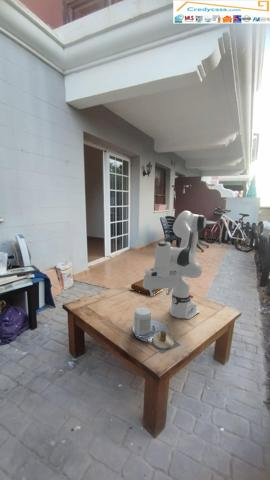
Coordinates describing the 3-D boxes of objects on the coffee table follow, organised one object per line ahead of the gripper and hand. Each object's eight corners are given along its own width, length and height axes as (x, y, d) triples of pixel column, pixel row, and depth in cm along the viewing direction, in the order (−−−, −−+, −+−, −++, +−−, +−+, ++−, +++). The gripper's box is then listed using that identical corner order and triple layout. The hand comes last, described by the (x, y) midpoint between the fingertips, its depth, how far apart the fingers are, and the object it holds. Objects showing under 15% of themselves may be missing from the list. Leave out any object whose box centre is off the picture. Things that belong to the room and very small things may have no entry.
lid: (163, 333, 129) (164, 324, 128) (178, 344, 119) (179, 334, 118) (147, 339, 123) (148, 330, 122) (161, 351, 113) (162, 341, 112)
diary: (130, 290, 196) (131, 284, 195) (142, 284, 211) (142, 279, 210) (153, 297, 183) (153, 290, 182) (163, 290, 198) (163, 284, 197)
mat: (164, 333, 131) (164, 332, 131) (180, 345, 119) (181, 344, 119) (145, 340, 123) (145, 339, 123) (161, 354, 111) (161, 353, 111)
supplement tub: (152, 332, 131) (154, 309, 128) (145, 340, 123) (147, 316, 120) (138, 327, 135) (139, 305, 133) (130, 335, 127) (131, 311, 125)
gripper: (175, 269, 125) (173, 292, 127) (142, 270, 119) (141, 294, 120) (181, 272, 119) (179, 296, 121) (146, 273, 113) (145, 299, 115)
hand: (160, 295), depth 121 cm, fingers open, 8 cm apart
